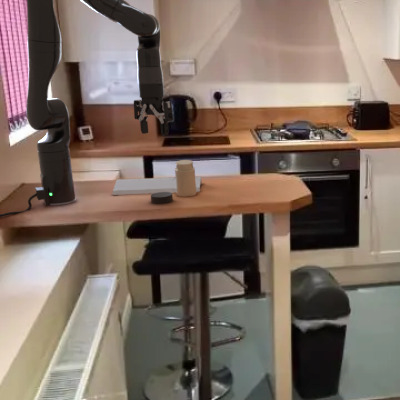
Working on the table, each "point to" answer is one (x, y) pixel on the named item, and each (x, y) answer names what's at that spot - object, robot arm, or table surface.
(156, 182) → the crown molding
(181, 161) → the coffee jar
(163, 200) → the jar lid
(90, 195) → the table surface
